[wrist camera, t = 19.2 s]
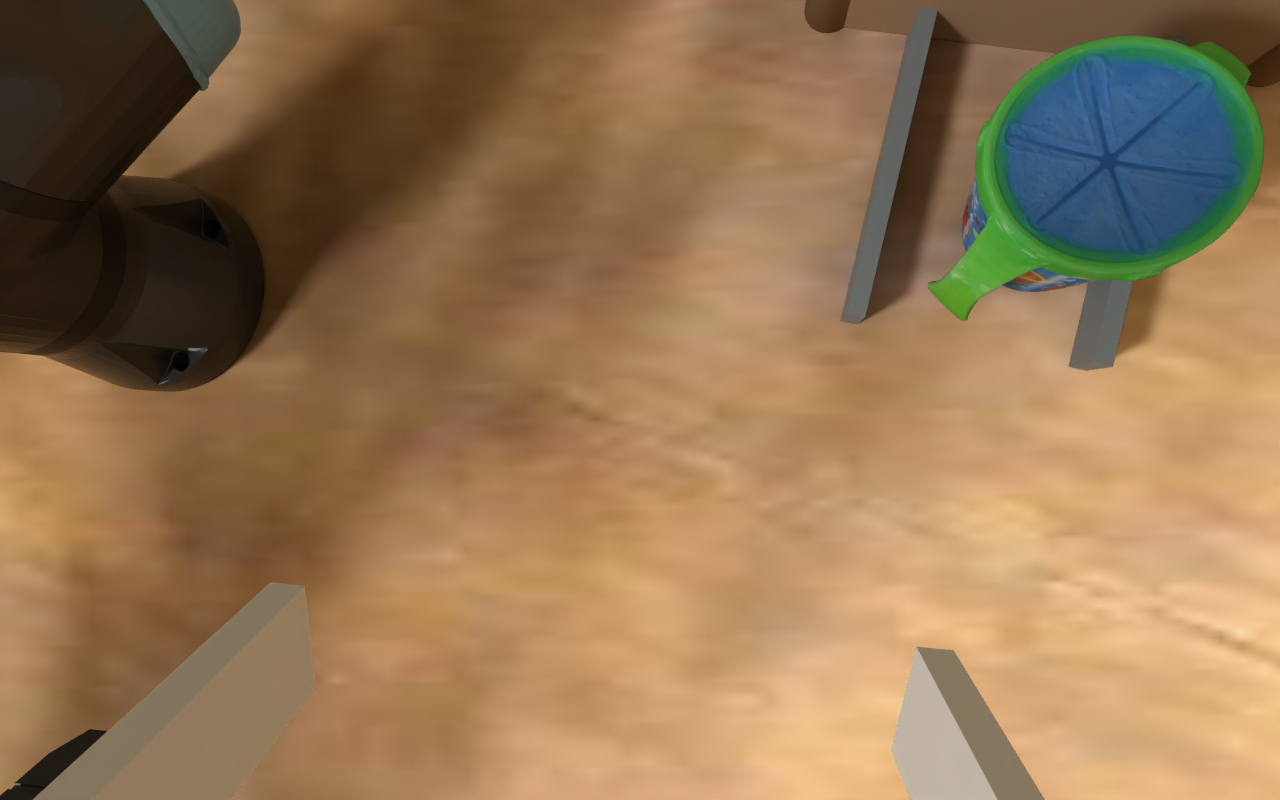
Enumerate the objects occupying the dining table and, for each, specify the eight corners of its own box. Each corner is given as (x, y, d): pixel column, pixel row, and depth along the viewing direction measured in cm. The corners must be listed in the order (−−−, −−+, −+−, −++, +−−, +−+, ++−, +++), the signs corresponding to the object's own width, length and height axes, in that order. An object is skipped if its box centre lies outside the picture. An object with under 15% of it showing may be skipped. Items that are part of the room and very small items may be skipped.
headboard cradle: (736, 299, 39) (726, 147, 17) (810, -17, 39) (893, -564, 17) (1213, 395, 35) (2003, 349, 13) (1298, 37, 35) (2233, -613, 13)
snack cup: (1088, 76, 36) (1202, -60, 26) (1221, 214, 34) (1398, 122, 24) (859, 244, 38) (883, 177, 29) (970, 381, 36) (1037, 360, 27)
